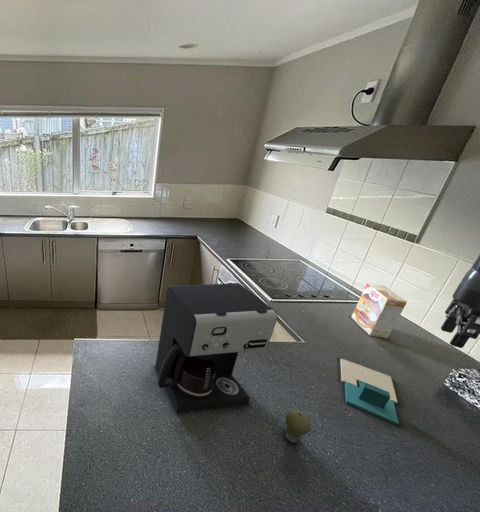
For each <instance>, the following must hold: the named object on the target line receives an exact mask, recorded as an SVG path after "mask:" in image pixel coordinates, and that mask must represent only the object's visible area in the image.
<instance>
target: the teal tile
mask: <svg viewBox="0 0 480 512" xmlns="http://www.w3.org/2000/svg"><path fill="white" fill-rule="evenodd" d="M344 393H345V403H346V404H348V405H350V406H352V407H354V408H357V409H359V410H361V411H364V412H366V413H369V414H371V415H373V416H376V417H378V418H380V419H382V420H385V421H386V422H389V423H391V424H394V425H396V426H398V425H400V422H399V418H398V413H397V409H396V406H395V403H394V402H393V401H392V400H389V399H390V394H389V392H387V391H385V390H382V389H380V388H377V387H375V386H372V385H369V384H367V383H362V382H360V381H359V382H357V386H354V385H352V384H349V383H347V382H346V383H344Z"/></svg>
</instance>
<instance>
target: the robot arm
mask: <svg viewBox="0 0 480 512" xmlns="http://www.w3.org/2000/svg"><path fill="white" fill-rule="evenodd" d="M444 314H445V318H446V319H445V320H444V322H443V324H441V327H440V330H441V331H443V332H446V333H449V334H451V333H453V332H454V331H455V329H456V328H457V329H456V332H455V334H454V335H453V337H452V338H451V340H450V342H449V344H450V346H452V347H455V348H459V349H463V348H464V347H465V345H466V344H467V342H468V341H469V339H474V340H477V339H478V338H479V335H480V253H479V254H478V255H477V258H476V259H475V261H474V262H473V264H472V265H471V267H470V268H469V269H468V270H467V272H466V273H465V274H464V275H463V278H461V280H460V282H459V284H458V286H457V287H456V288H455V291H454V292H453V293H452V300H451V302H450V303H449V305H448V307H446V309H445V311H444Z"/></svg>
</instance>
